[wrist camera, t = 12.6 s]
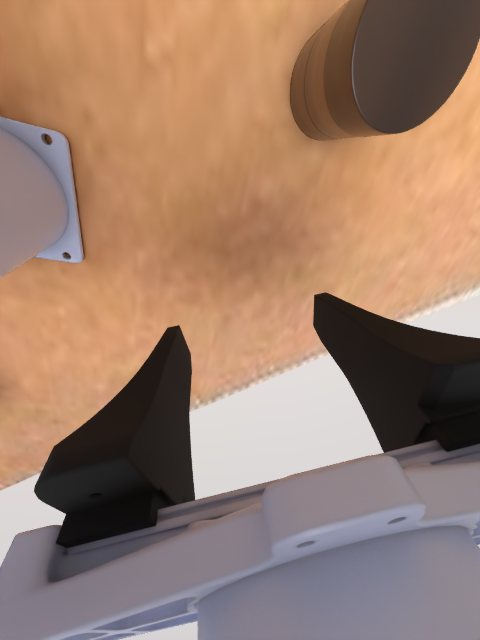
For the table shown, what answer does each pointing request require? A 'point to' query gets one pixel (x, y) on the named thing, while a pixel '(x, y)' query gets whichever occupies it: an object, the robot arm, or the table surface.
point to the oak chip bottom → (298, 93)
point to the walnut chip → (397, 62)
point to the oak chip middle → (322, 81)
